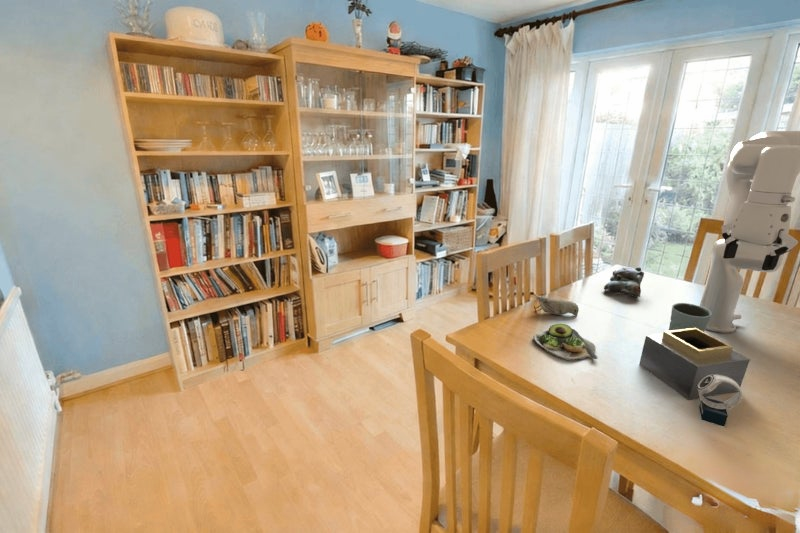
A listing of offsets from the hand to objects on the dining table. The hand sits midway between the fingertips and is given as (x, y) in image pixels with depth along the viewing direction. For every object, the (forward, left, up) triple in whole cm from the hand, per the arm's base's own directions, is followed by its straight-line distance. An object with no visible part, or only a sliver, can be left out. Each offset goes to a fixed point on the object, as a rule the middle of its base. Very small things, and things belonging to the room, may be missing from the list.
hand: (747, 263), depth 98 cm
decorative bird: (+25, -41, -33) cm, 58 cm away
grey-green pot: (-4, -14, -32) cm, 36 cm away
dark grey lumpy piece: (-14, -53, -33) cm, 64 cm away
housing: (+12, +2, -32) cm, 35 cm away
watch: (+20, +16, -32) cm, 41 cm away
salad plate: (+35, -21, -33) cm, 52 cm away
